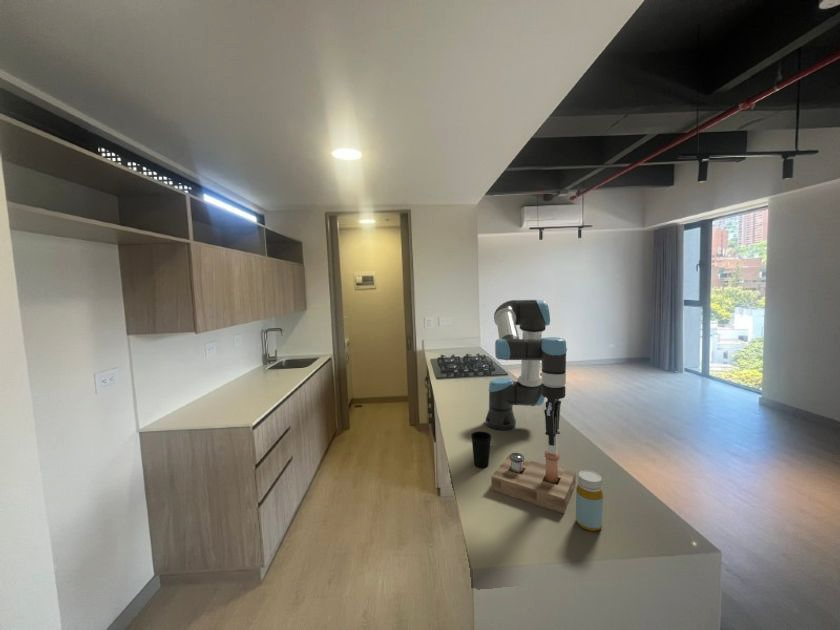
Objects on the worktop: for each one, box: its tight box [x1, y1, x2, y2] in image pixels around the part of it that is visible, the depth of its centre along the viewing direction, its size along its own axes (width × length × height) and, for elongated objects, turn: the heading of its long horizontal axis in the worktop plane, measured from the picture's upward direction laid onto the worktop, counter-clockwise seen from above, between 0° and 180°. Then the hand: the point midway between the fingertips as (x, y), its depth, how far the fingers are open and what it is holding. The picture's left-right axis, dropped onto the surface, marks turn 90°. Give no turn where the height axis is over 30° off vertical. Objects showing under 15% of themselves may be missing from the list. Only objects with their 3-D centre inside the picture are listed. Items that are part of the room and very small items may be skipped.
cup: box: [470, 431, 492, 469], centre depth 139 cm, size 8×8×12 cm
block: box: [490, 454, 577, 515], centre depth 123 cm, size 18×24×5 cm
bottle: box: [575, 470, 604, 532], centre depth 103 cm, size 7×7×15 cm
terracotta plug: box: [544, 449, 561, 482], centre depth 119 cm, size 5×5×9 cm
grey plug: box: [509, 452, 525, 475], centre depth 126 cm, size 5×5×9 cm
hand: (552, 453), depth 118 cm, fingers closed
